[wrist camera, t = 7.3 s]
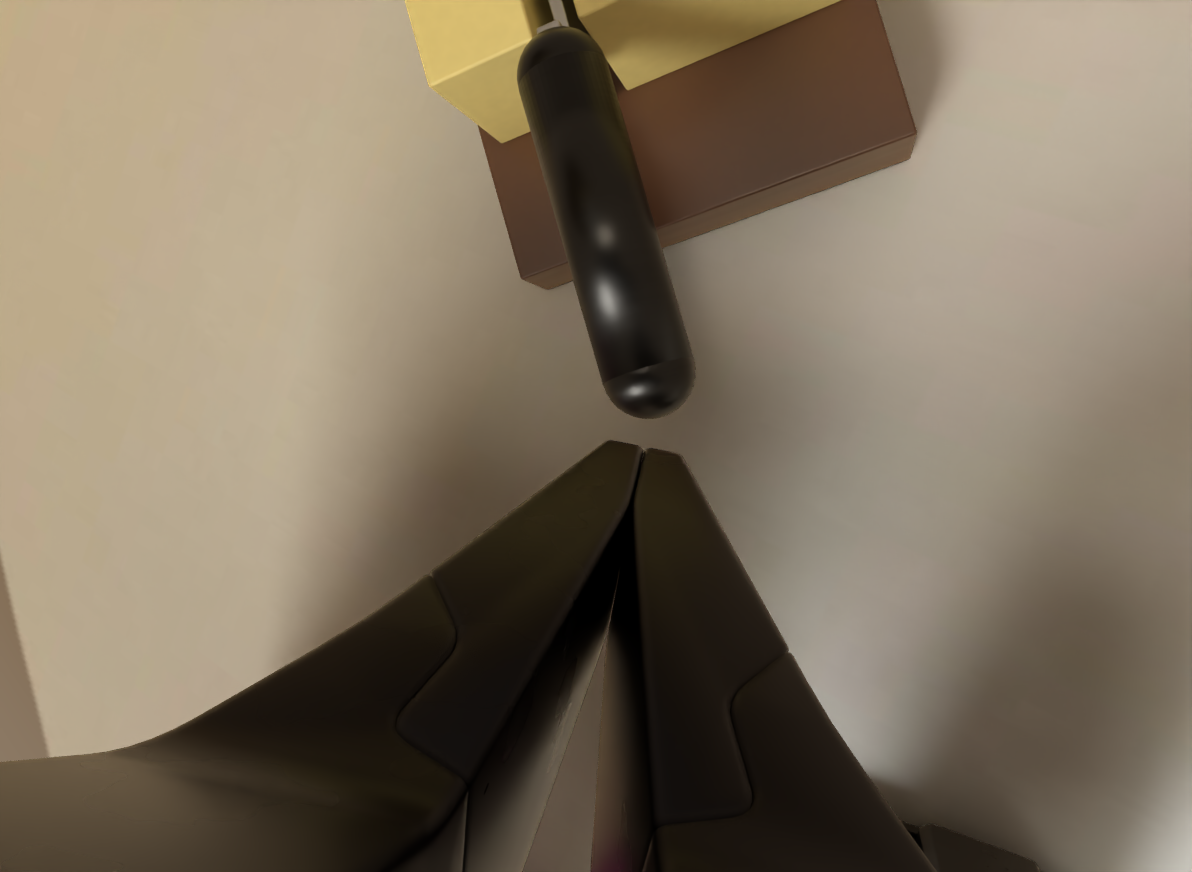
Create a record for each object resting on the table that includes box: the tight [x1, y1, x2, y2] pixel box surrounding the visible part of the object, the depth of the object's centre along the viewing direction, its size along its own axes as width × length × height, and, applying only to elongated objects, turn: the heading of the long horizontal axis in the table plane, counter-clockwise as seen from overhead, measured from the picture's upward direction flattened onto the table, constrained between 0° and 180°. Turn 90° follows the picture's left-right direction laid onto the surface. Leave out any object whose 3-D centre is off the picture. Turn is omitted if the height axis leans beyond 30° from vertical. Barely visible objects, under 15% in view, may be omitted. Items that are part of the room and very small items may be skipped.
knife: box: [517, 0, 696, 419], centre depth 18 cm, size 14×2×5 cm, turn 17°
